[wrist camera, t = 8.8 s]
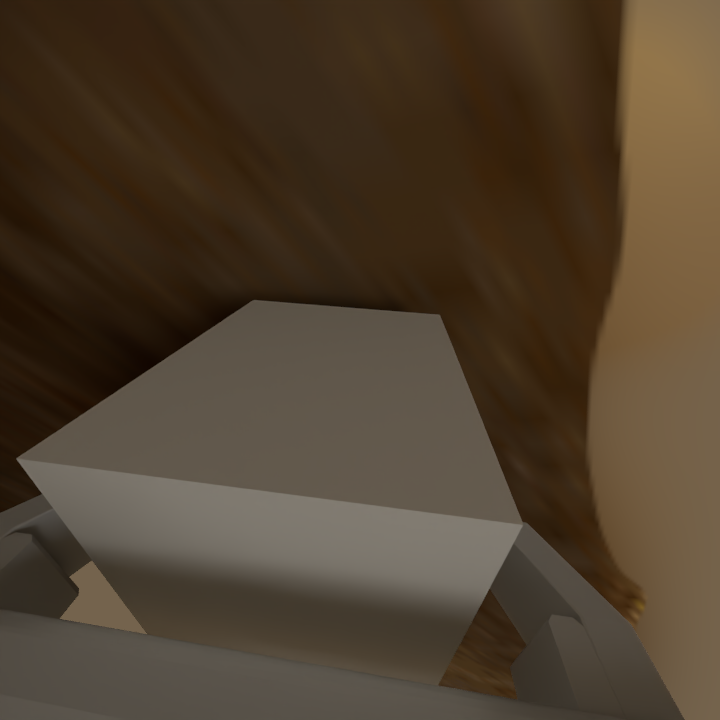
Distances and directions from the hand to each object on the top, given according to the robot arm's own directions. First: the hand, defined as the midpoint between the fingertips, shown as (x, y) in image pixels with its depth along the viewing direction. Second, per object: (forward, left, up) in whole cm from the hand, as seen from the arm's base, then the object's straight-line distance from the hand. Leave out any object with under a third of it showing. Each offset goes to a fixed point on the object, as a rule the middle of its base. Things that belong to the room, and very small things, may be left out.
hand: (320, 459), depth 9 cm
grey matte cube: (0, 0, -4) cm, 4 cm away
